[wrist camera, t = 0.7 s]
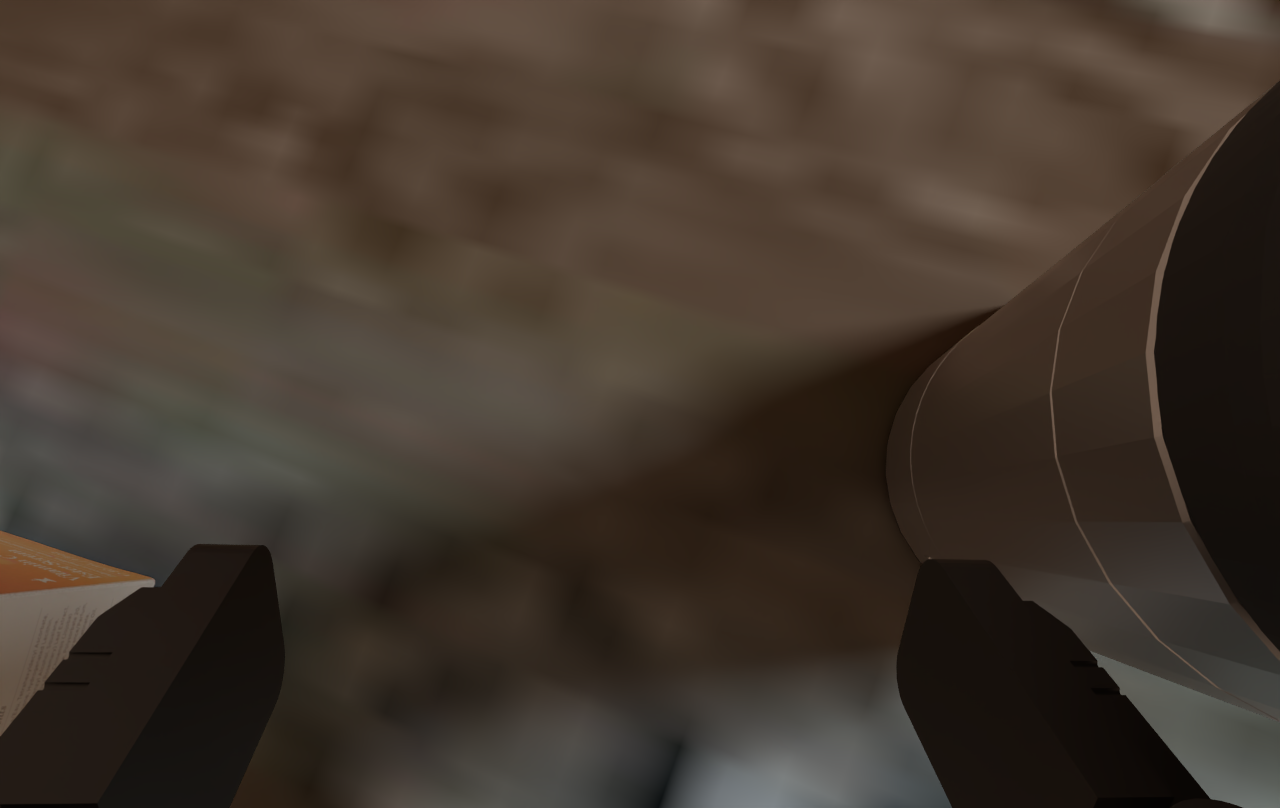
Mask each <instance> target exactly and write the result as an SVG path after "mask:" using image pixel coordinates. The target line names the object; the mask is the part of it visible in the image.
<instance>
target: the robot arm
mask: <svg viewBox="0 0 1280 808" xmlns="http://www.w3.org/2000/svg"><path fill="white" fill-rule="evenodd" d="M886 480H887V486H888V492H889V499H890V504H891V507H892V510H893V512H894V515H895V518H896V520H897V523H898V525H899V528H900V531H901V533H902V535H903V536H904V538H905V540H906V541H907V543H908V544H909V546H910V547H911V549H912V550H913V552H914V554H915V555H916V557H917V558H918V560H919V561H920V562H921V563H922V565H921V567H920V569H919V572H918V575H917V579H916V583H915V587H914V591H913V595H912V599H911V603H910V607H909V611H908V615H907V619H906V623H905V627H904V631H903V635H902V639H901V643H900V647H899V650H898V655H897V683H898V689H899V693H900V697H901V700H902V703H903V705H904V708H905V710H906V712H907V714H908V716H909V718H910V720H911V722H912V725H913V727H914V729H915V731H916V733H917V735H918V737H919V739H920V741H921V743H922V745H923V747H924V750H925V752H926V754H927V756H928V758H929V760H930V762H931V764H932V766H933V768H934V770H935V772H936V775H937V777H938V779H939V781H940V783H941V785H942V787H943V789H944V791H945V793H946V795H947V798H948V800H949V802H950V804H951V806H952V808H1242V807H1239V806H1237V805H1234V804H1230V803H1226V802H1223V801H1218V800H1212V799H1210V798H1209V796H1208V795H1207V794H1206V793H1205V792H1204V790H1203V789H1202V788H1201V787H1200V785H1199V784H1198V783H1197V782H1196V781H1195V779H1194V778H1193V777H1192V776H1191V775H1190V773H1189V772H1188V771H1187V770H1186V768H1185V767H1184V766H1183V765H1182V764H1181V762H1180V761H1179V760H1178V759H1177V757H1176V756H1175V755H1174V754H1173V753H1172V751H1171V750H1170V749H1169V748H1168V746H1167V745H1166V744H1165V743H1164V742H1163V740H1162V739H1161V738H1160V737H1159V735H1158V734H1157V733H1156V732H1155V731H1154V729H1153V728H1152V727H1151V726H1150V724H1149V723H1148V722H1147V721H1146V720H1145V718H1144V717H1143V716H1142V715H1141V713H1140V712H1139V711H1138V710H1137V709H1136V707H1135V706H1134V705H1133V704H1132V702H1131V701H1130V700H1129V699H1128V698H1127V696H1126V695H1121V694H1120V691H1119V690H1120V688H1119V687H1118V685H1117V684H1116V683H1115V682H1114V680H1113V679H1112V678H1111V677H1110V676H1109V674H1108V673H1107V672H1106V671H1105V670H1104V668H1102V667H1098V665H1097V660H1096V659H1095V657H1094V656H1093V655H1092V654H1091V652H1090V651H1092V652H1095V653H1098V654H1100V655H1103V656H1106V657H1108V658H1111V659H1113V660H1116V661H1119V662H1121V663H1124V664H1127V665H1129V666H1132V667H1135V668H1137V669H1140V670H1143V671H1145V672H1148V673H1150V674H1153V675H1156V676H1158V677H1161V678H1164V679H1166V680H1169V681H1172V682H1174V683H1177V684H1180V685H1182V686H1185V687H1187V688H1190V689H1193V690H1195V691H1198V692H1201V693H1203V694H1206V695H1209V696H1211V697H1214V698H1217V699H1219V700H1222V701H1225V702H1227V703H1230V704H1232V705H1235V706H1238V707H1240V708H1243V709H1246V710H1248V711H1251V712H1254V713H1256V714H1259V715H1262V716H1264V717H1267V718H1269V719H1272V720H1275V721H1277V722H1280V81H1279V82H1277V83H1276V84H1275V85H1274V86H1273V87H1271V88H1270V89H1269V90H1268V91H1266V92H1265V93H1264V94H1263V95H1261V96H1260V97H1259V98H1258V99H1257V100H1255V101H1254V102H1253V103H1252V104H1250V105H1249V106H1248V107H1247V108H1245V109H1244V110H1243V111H1242V112H1241V113H1239V114H1238V115H1237V116H1236V117H1234V118H1233V119H1232V120H1231V121H1229V122H1228V123H1227V124H1226V125H1225V126H1223V127H1222V128H1221V129H1220V130H1218V131H1217V132H1216V133H1215V134H1213V135H1212V136H1211V137H1210V138H1209V139H1207V140H1206V141H1205V142H1204V143H1202V144H1201V145H1200V146H1199V147H1197V148H1196V149H1195V150H1194V151H1193V152H1191V153H1190V154H1189V155H1188V156H1186V157H1185V158H1184V159H1183V160H1181V161H1180V162H1179V163H1178V164H1177V165H1175V166H1174V167H1173V168H1172V169H1170V170H1169V171H1168V172H1167V173H1166V174H1164V175H1163V176H1162V177H1161V178H1160V179H1159V180H1158V181H1157V182H1156V183H1155V184H1153V185H1152V186H1151V187H1150V188H1149V189H1147V190H1146V191H1145V192H1144V193H1142V194H1141V195H1140V196H1139V197H1137V198H1136V199H1135V200H1134V201H1133V202H1131V203H1130V204H1129V205H1128V206H1126V207H1125V208H1124V209H1123V210H1121V211H1120V212H1119V213H1118V214H1116V215H1115V216H1114V217H1113V218H1112V219H1110V220H1109V221H1108V222H1107V223H1105V224H1104V225H1103V226H1102V227H1100V228H1099V229H1098V230H1097V231H1095V232H1094V233H1093V234H1092V235H1091V236H1089V237H1088V238H1087V239H1086V240H1084V241H1083V242H1082V243H1081V244H1079V245H1078V246H1077V247H1076V248H1074V249H1073V250H1072V251H1071V252H1070V253H1068V254H1067V255H1066V256H1065V257H1063V258H1062V259H1061V260H1060V261H1058V262H1057V263H1056V264H1055V265H1054V266H1052V267H1051V268H1050V269H1049V270H1047V271H1046V272H1045V273H1044V274H1042V275H1041V276H1040V277H1039V278H1037V279H1036V280H1035V281H1034V282H1033V283H1031V284H1030V285H1029V286H1028V287H1026V288H1025V289H1024V290H1023V291H1021V292H1020V293H1019V294H1018V295H1016V296H1015V297H1014V298H1013V299H1012V300H1010V301H1009V302H1008V303H1007V304H1005V305H1004V306H1003V307H1002V308H1000V309H999V310H998V311H997V312H995V313H994V314H993V315H992V316H991V317H989V318H988V319H987V320H986V321H984V322H983V323H982V324H981V325H979V326H978V327H976V328H975V329H974V330H972V331H971V332H970V333H969V334H968V335H966V336H965V337H964V338H963V339H962V340H960V341H959V342H958V343H957V344H955V345H954V346H953V347H952V348H950V349H949V350H948V351H947V352H946V353H944V354H943V355H942V356H941V357H939V358H938V359H937V360H936V361H934V362H933V363H932V364H931V365H930V366H929V367H928V368H927V369H926V370H925V371H924V373H923V374H922V375H921V376H920V377H919V378H918V379H917V380H916V382H915V383H914V384H913V385H912V386H911V387H910V389H909V391H908V393H907V394H906V396H905V398H904V400H903V402H902V403H901V405H900V407H899V409H898V411H897V413H896V415H895V418H894V422H893V425H892V429H891V432H890V436H889V439H888V443H887V458H886ZM1089 650H1090V651H1089ZM284 663H285V650H284V641H283V634H282V626H281V619H280V612H279V605H278V598H277V591H276V583H275V576H274V569H273V562H272V558H271V554H270V552H269V550H268V548H267V547H266V546H264V545H218V544H197V545H194V546H193V547H192V548H190V550H189V551H188V552H187V553H186V555H185V556H184V557H183V559H182V560H181V561H180V563H179V564H178V565H177V567H176V568H175V569H174V571H173V572H172V573H171V575H170V576H169V577H168V579H167V580H166V581H165V583H164V584H163V585H162V587H141V588H139V589H138V590H136V591H135V592H133V593H132V594H131V595H129V596H128V597H126V598H125V599H123V600H122V601H120V602H119V603H117V604H116V605H114V606H113V607H111V608H110V609H108V610H107V611H105V612H104V613H103V614H101V615H100V616H98V617H97V618H96V620H95V621H94V622H93V623H92V624H91V626H90V627H89V628H88V629H87V631H86V632H85V633H84V634H83V635H82V637H81V638H80V639H79V640H78V642H77V643H76V644H75V645H74V647H73V648H72V649H71V650H70V651H69V657H68V659H63V660H62V661H61V663H60V664H59V665H58V666H57V667H56V669H55V670H54V671H53V672H52V674H51V675H50V676H49V677H48V678H47V680H46V681H45V682H44V683H45V685H44V689H43V690H38V691H37V692H36V693H35V694H34V696H33V697H32V698H31V699H30V701H29V702H28V703H27V704H26V705H25V707H24V708H23V709H22V710H21V712H20V713H19V714H18V715H17V717H16V718H15V719H14V720H13V721H12V723H11V724H10V725H9V726H8V728H7V729H6V730H5V731H4V733H3V734H2V735H1V736H0V808H229V807H230V805H231V803H232V801H233V798H234V796H235V794H236V792H237V789H238V787H239V785H240V783H241V780H242V778H243V776H244V774H245V771H246V769H247V767H248V765H249V762H250V760H251V758H252V756H253V754H254V751H255V749H256V747H257V745H258V742H259V740H260V738H261V736H262V733H263V731H264V729H265V727H266V724H267V722H268V720H269V718H270V715H271V713H272V711H273V709H274V707H275V704H276V702H277V699H278V696H279V693H280V689H281V685H282V680H283V673H284Z"/></svg>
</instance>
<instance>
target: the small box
mask: <svg viewBox="0 0 1280 808" xmlns="http://www.w3.org/2000/svg"><path fill="white" fill-rule="evenodd" d="M154 585H155V580H154V579H153V578H151V577H148V576H144V575H140V574H137V573H134V572H130V571H126V570H122V569H118V568H115V567H111V566H108V565H105V564H101V563H98V562H95V561H92V560H88V559H85V558H82V557H79V556H76V555H73V554H70V553H67V552H64V551H61V550H58V549H55V548H52V547H49V546H46V545H43V544H40V543H37V542H34V541H31V540H28V539H25V538H22V537H18V536H15V535H12V534H9V533H6V532H3V531H0V736H1V735H2V734H3V733H4V731H5V730H6V729H7V728H8V726H9V725H10V724H11V723H12V721H13V720H14V719H15V718H16V717H17V715H18V714H19V713H20V712H21V710H22V709H23V708H24V707H25V705H26V704H27V703H28V702H29V701H30V699H31V698H32V697H33V696H34V694H35V693H36V692H37V691H38V690H43V689H44V685H45V683H44V682H45V681H46V680H47V678H48V677H49V676H50V675H51V674H52V672H53V671H54V670H55V669H56V667H57V666H58V665H59V664H60V663H61V661H62V660H63V659H68V657H69V651H70V650H71V649H72V648H73V647H74V645H75V644H76V643H77V642H78V640H79V639H80V638H81V637H82V635H83V634H84V633H85V632H86V631H87V629H88V628H89V627H90V626H91V624H92V623H93V622H94V621H95V620H96V618H97V617H98V616H100V615H101V614H103V613H104V612H105V611H107V610H108V609H110V608H111V607H113V606H114V605H116V604H117V603H119V602H120V601H122V600H123V599H125V598H126V597H128V596H129V595H131V594H132V593H133V592H135V591H136V590H138V589H139V588H141V587H154Z"/></svg>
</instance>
